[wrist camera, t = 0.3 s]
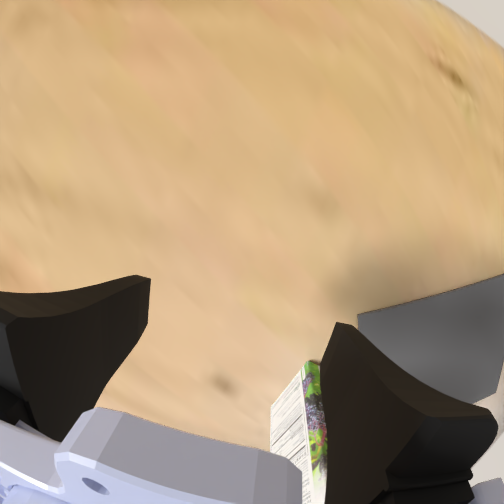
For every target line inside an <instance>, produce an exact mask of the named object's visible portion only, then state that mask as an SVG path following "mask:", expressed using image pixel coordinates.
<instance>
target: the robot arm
mask: <svg viewBox="0 0 504 504" xmlns="http://www.w3.org/2000/svg"><path fill="white" fill-rule="evenodd" d="M150 284H151V279H150V278H146V277H142V276H139V275H132V276H127V277H123V278H119V279H116V280H112V281H108V282H104V283H101V284H97V285H92V286H88V287H84V288H79V289H74V290H68V291H61V292H52V293H12V292H2V291H0V504H302V471H301V470H300V469H298V468H297V467H296V466H295V465H294V464H293V463H292V462H291V461H290V460H289V459H288V458H286V457H284V456H281V455H278V454H274V453H271V452H268V451H265V450H262V449H259V448H255V447H249V446H244V445H239V444H234V443H229V442H225V441H220V440H216V439H212V438H208V437H204V436H200V435H196V434H192V433H188V432H185V431H181V430H178V429H174V428H171V427H168V426H165V425H161V424H158V423H155V422H152V421H149V420H146V419H143V418H140V417H137V416H135V415H132V414H129V413H126V412H121V411H116V410H111V409H107V408H101V407H97V408H94V406H95V404H96V402H97V400H98V399H99V397H100V395H101V393H102V391H103V389H104V388H105V386H106V384H107V383H108V381H109V380H110V378H111V377H112V376H113V374H114V373H115V372H116V370H117V369H118V368H119V366H120V365H121V364H122V363H123V361H124V360H125V359H126V357H127V356H128V355H129V353H130V352H131V351H132V349H133V348H134V347H135V345H136V344H137V342H138V341H139V339H140V337H141V335H142V334H143V332H144V330H145V328H146V326H147V324H148V309H149V295H150ZM320 390H321V397H322V403H323V410H324V417H325V423H326V430H327V480H326V492H325V502H324V504H504V484H503V482H502V479H501V478H496V479H493V480H489V481H485V482H481V483H479V484H476V485H475V486H473V487H470V484H469V482H468V480H471V479H472V477H473V473H472V471H471V469H470V468H471V467H472V466H473V465H474V464H475V463H476V462H477V461H478V459H479V458H480V457H481V456H482V455H483V454H484V453H485V452H486V450H487V449H488V448H489V447H490V445H491V444H492V443H493V441H494V439H495V437H496V435H497V431H498V424H497V421H496V420H495V418H494V417H493V415H492V413H491V412H490V411H489V410H488V409H486V408H483V407H480V406H476V405H473V404H469V403H466V402H463V401H460V400H458V399H456V398H453V397H451V396H448V395H446V394H444V393H442V392H440V391H438V390H436V389H434V388H432V387H430V386H428V385H426V384H425V383H423V382H421V381H420V380H418V379H416V378H415V377H413V376H412V375H410V374H409V373H408V372H406V371H405V370H403V369H402V368H401V367H399V366H398V365H397V364H396V363H394V362H393V361H392V360H391V359H389V358H388V357H387V356H386V355H385V354H384V353H382V352H381V351H380V350H379V349H378V348H377V347H376V346H375V345H374V344H373V343H372V342H371V341H369V340H368V339H367V338H366V337H365V336H364V335H363V334H362V333H361V332H360V331H359V330H357V329H356V328H355V327H354V326H352V325H349V324H344V323H339V322H336V324H335V327H334V330H333V332H332V335H331V338H330V340H329V343H328V346H327V348H326V351H325V353H324V356H323V358H322V361H321V363H320ZM93 408H94V409H93Z"/></svg>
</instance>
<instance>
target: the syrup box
mask: <svg viewBox="0 0 504 504" xmlns="http://www.w3.org/2000/svg"><path fill="white" fill-rule="evenodd" d="M270 452H271V453H274V454H278V455H281V456H284V457H286V458H288V459H289V460H290V461H291V462H292V463H293V464H294V465H295V466H296V467H297V468H298V469H300V470H301V471H302V504H324V502H325V492H326V480H327V430H326V423H325V417H324V410H323V403H322V397H321V390H320V366H319V365H316V364H314V363H312V362H310V361H307V362H306V363H305V364H304V366H303V367H302V368H301V370H300V371H299V372H298V373H297V375H296V376H295V377H294V378H293V380H292V381H291V382H290V383H289V385H288V386H287V387H286V388H285V390H284V391H283V392H282V393H281V395H280V396H279V397H278V398H277V400H276V401H275V402H274V403H273V404H272V406H271V433H270Z"/></svg>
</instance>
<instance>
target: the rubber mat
mask: <svg viewBox="0 0 504 504" xmlns="http://www.w3.org/2000/svg"><path fill="white" fill-rule="evenodd" d="M357 317H358V330H359V331H360V332H361V333H362V334H363V335H364V336H365V337H366V338H367V339H368V340H369V341H371V342H372V343H373V344H374V345H375V346H376V347H377V348H378V349H379V350H380V351H381V352H382V353H384V354H385V355H386V356H387V357H388V358H389V359H391V360H392V361H393V362H394V363H396V364H397V365H398V366H399V367H401V368H402V369H403V370H405V371H406V372H408V373H409V374H410V375H412V376H413V377H415V378H416V379H418V380H420V381H421V382H423V383H425V384H426V385H428V386H430V387H432V388H434V389H436V390H438V391H440V392H442V393H444V394H446V395H448V396H451V397H453V398H456V399H458V400H460V401H463V402H466V403H469V404H473V403H475V402H477V401H479V400H481V399H484V398H486V397H488V396H490V395H492V394H494V393H496V390H497V386H498V382H499V378H500V374H501V370H502V366H503V361H504V274H502V275H499V276H496V277H493V278H490V279H487V280H484V281H480V282H477V283H474V284H471V285H468V286H464V287H461V288H458V289H454V290H451V291H447V292H444V293H440V294H437V295H433V296H430V297H426V298H422V299H419V300H415V301H411V302H407V303H403V304H399V305H395V306H391V307H387V308H383V309H379V310H375V311H370V312H366V313H361V314H357Z"/></svg>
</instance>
